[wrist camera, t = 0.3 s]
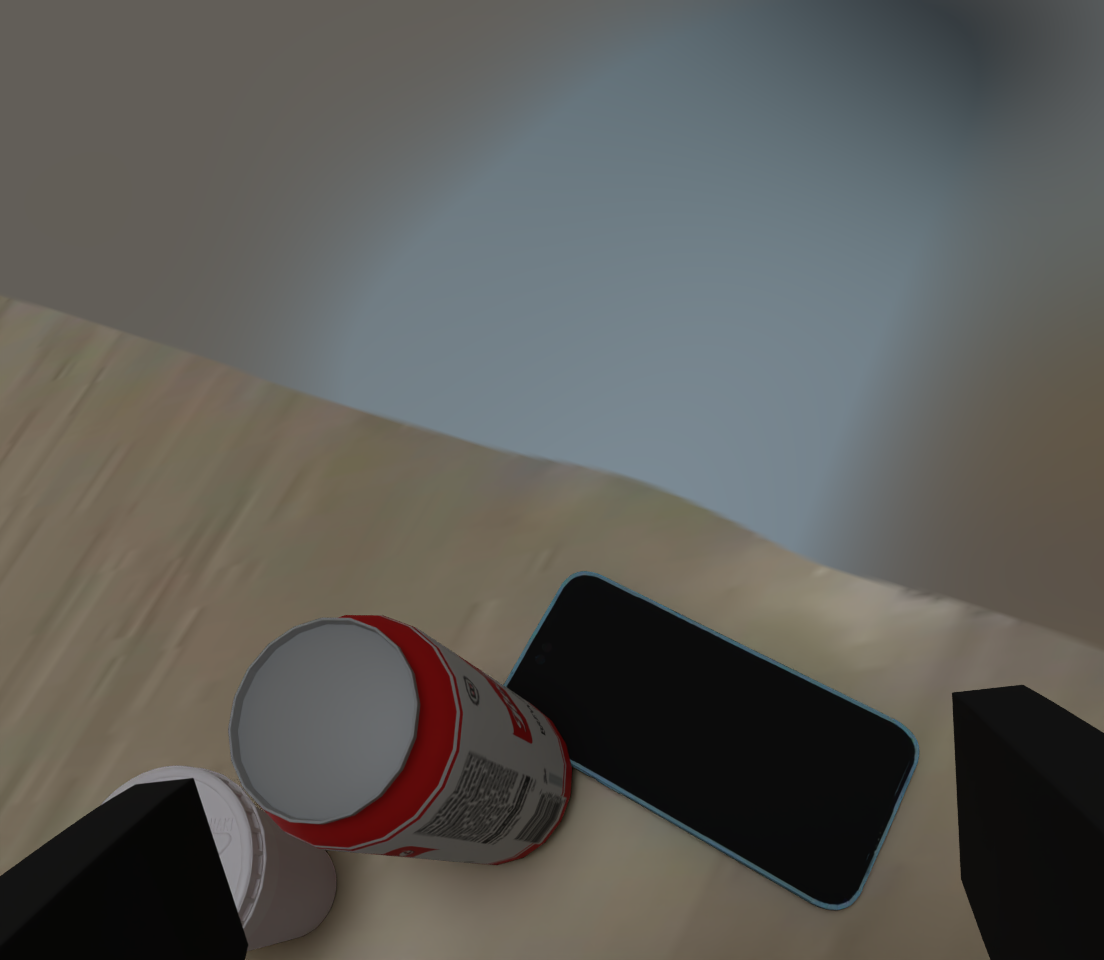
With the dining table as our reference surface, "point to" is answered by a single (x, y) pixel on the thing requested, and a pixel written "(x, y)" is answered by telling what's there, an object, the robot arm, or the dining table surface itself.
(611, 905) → the dining table surface
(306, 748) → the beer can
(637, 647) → the smartphone
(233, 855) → the smoothie
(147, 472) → the dining table surface
